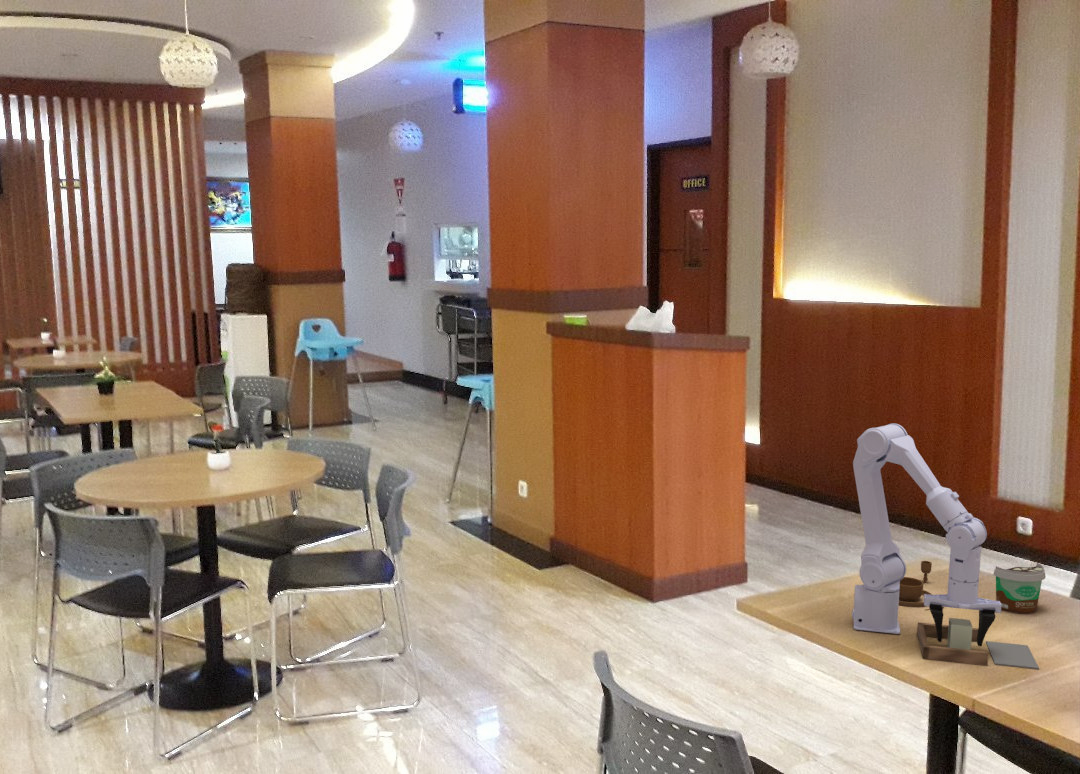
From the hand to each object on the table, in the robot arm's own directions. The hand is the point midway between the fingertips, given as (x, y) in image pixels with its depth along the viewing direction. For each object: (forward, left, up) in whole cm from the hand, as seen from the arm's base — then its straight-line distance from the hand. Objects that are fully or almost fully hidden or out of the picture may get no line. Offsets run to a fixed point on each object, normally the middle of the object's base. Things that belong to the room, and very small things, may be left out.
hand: (959, 642), depth 210 cm
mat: (+10, 0, -2) cm, 10 cm away
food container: (+17, +29, -2) cm, 34 cm away
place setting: (-5, +33, -2) cm, 33 cm away
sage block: (0, 0, -2) cm, 2 cm away
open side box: (-1, 0, -2) cm, 2 cm away
